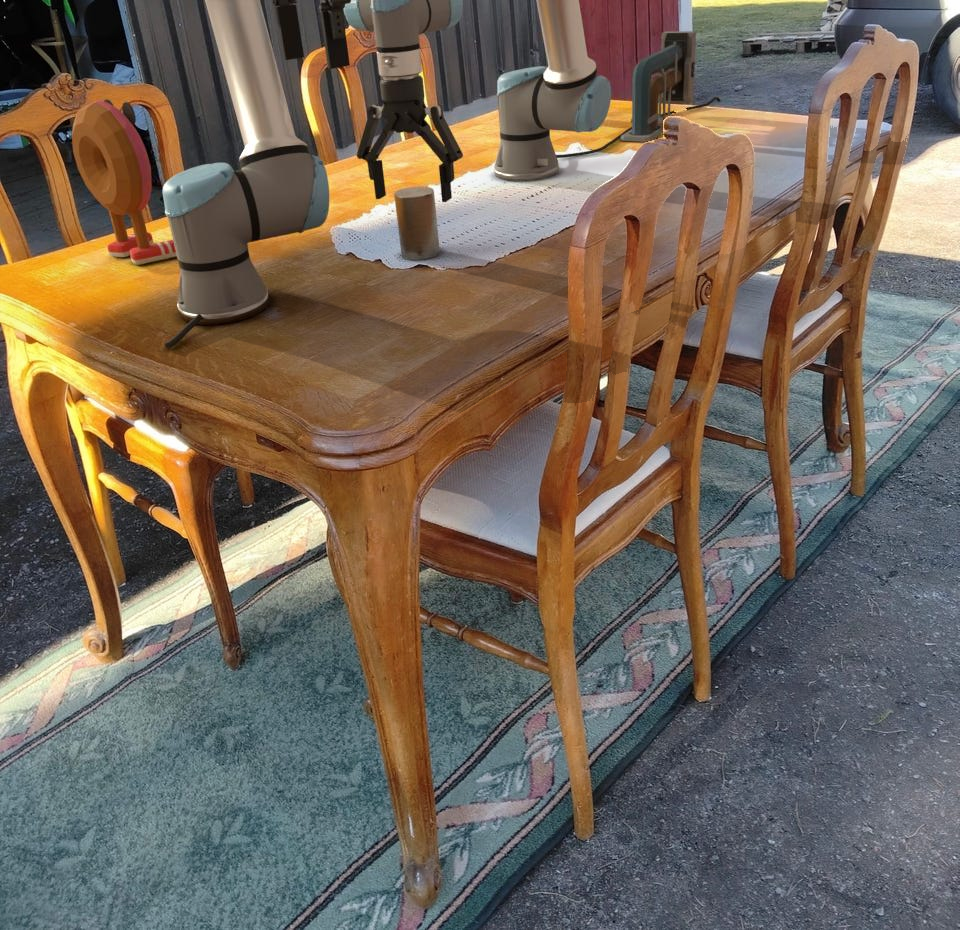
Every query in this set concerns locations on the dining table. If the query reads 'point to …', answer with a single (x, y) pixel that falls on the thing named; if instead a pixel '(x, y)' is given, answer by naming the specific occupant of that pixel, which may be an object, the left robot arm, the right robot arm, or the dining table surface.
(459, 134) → the dining table surface
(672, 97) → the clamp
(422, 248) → the canister
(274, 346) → the dining table surface
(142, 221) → the toy
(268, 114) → the left robot arm
